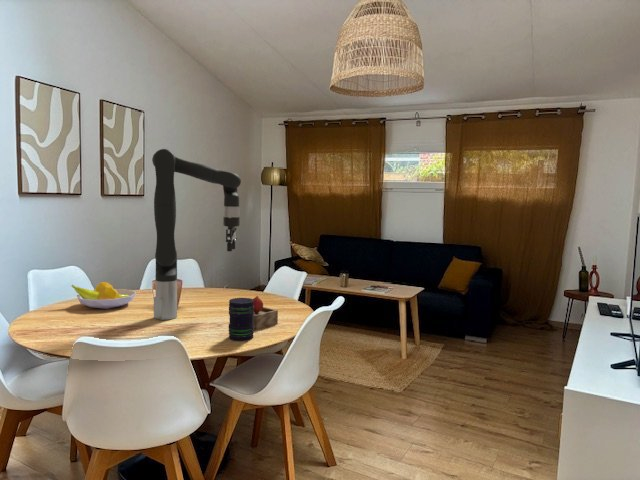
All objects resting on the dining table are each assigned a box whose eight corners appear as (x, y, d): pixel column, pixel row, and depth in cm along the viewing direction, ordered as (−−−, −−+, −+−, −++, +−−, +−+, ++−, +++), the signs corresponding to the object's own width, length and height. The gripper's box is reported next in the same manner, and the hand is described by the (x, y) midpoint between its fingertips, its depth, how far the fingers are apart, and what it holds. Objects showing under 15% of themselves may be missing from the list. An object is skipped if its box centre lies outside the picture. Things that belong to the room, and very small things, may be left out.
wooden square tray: (256, 330, 193) (256, 315, 193) (235, 325, 201) (235, 310, 201) (277, 324, 204) (277, 310, 203) (256, 319, 211) (256, 305, 211)
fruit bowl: (143, 300, 242) (143, 278, 241) (122, 312, 215) (122, 289, 214) (89, 299, 241) (89, 277, 240) (62, 311, 214) (61, 287, 213)
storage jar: (226, 341, 177) (226, 303, 176) (230, 333, 187) (230, 297, 186) (252, 341, 178) (253, 303, 176) (254, 333, 187) (255, 297, 186)
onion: (252, 315, 198) (252, 297, 197) (247, 312, 203) (248, 295, 202) (264, 314, 201) (265, 296, 200) (260, 311, 206) (260, 294, 205)
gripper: (226, 215, 224) (226, 248, 226) (220, 216, 210) (220, 251, 211) (241, 215, 224) (241, 248, 226) (236, 217, 210) (236, 252, 211)
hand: (231, 250), depth 218 cm, fingers open, 8 cm apart
